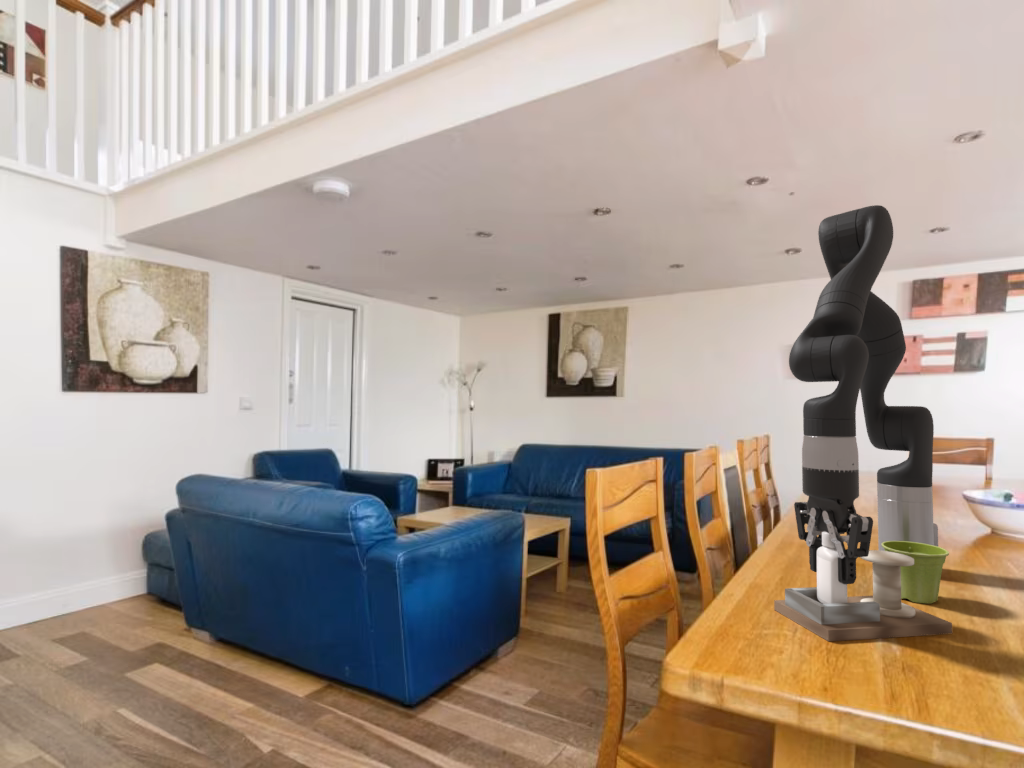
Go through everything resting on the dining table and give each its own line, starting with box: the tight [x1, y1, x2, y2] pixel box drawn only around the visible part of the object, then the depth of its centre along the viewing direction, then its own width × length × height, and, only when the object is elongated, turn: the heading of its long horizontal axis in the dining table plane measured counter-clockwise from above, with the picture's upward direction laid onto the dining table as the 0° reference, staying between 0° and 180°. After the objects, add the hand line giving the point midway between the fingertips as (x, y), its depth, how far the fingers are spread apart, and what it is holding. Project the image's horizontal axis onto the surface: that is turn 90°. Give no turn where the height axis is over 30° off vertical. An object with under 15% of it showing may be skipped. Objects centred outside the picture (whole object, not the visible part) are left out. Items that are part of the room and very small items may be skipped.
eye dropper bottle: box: [816, 531, 848, 604], centre depth 83 cm, size 4×6×12 cm
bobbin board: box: [773, 549, 953, 642], centre depth 84 cm, size 20×12×10 cm, turn 99°
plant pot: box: [881, 541, 950, 605], centre depth 94 cm, size 9×9×9 cm
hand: (831, 576), depth 83 cm, fingers closed on eye dropper bottle, 5 cm apart
